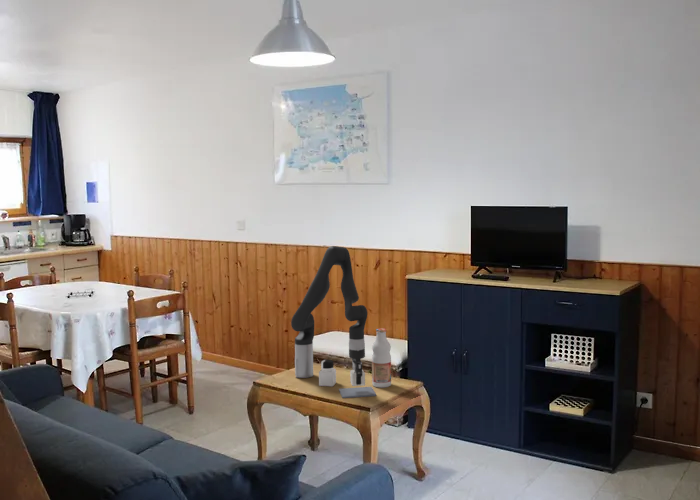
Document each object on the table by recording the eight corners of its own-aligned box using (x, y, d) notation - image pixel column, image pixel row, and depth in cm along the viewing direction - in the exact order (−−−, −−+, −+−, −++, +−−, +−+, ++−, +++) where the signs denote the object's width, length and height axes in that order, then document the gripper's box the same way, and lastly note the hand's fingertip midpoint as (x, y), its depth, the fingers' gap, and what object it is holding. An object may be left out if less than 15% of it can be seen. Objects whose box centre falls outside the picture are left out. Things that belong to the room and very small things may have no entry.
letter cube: (365, 385, 305) (365, 372, 305) (352, 386, 304) (352, 373, 304) (363, 381, 311) (362, 369, 311) (350, 382, 310) (350, 370, 310)
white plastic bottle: (368, 384, 321) (367, 328, 319) (383, 381, 327) (383, 326, 324) (379, 389, 314) (379, 332, 311) (395, 385, 319) (394, 329, 316)
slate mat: (342, 398, 301) (342, 396, 301) (338, 390, 313) (338, 388, 313) (376, 395, 303) (376, 394, 303) (371, 388, 315) (371, 386, 315)
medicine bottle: (336, 382, 326) (335, 358, 324) (333, 386, 319) (332, 362, 317) (322, 381, 327) (322, 358, 326) (318, 385, 320) (318, 362, 319)
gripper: (346, 344, 312) (347, 378, 314) (351, 351, 298) (352, 387, 300) (361, 343, 314) (362, 377, 315) (367, 350, 299) (368, 386, 301)
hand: (357, 382), depth 308 cm, fingers closed on letter cube, 6 cm apart
